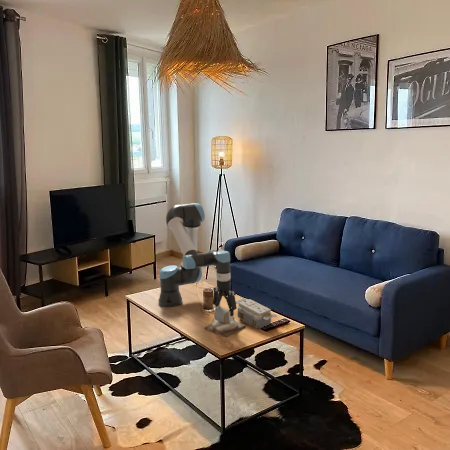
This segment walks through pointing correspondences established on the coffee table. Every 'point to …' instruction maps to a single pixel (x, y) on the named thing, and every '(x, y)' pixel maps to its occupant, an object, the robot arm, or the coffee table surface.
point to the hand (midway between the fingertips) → (224, 319)
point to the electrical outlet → (254, 313)
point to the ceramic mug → (222, 315)
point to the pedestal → (224, 327)
